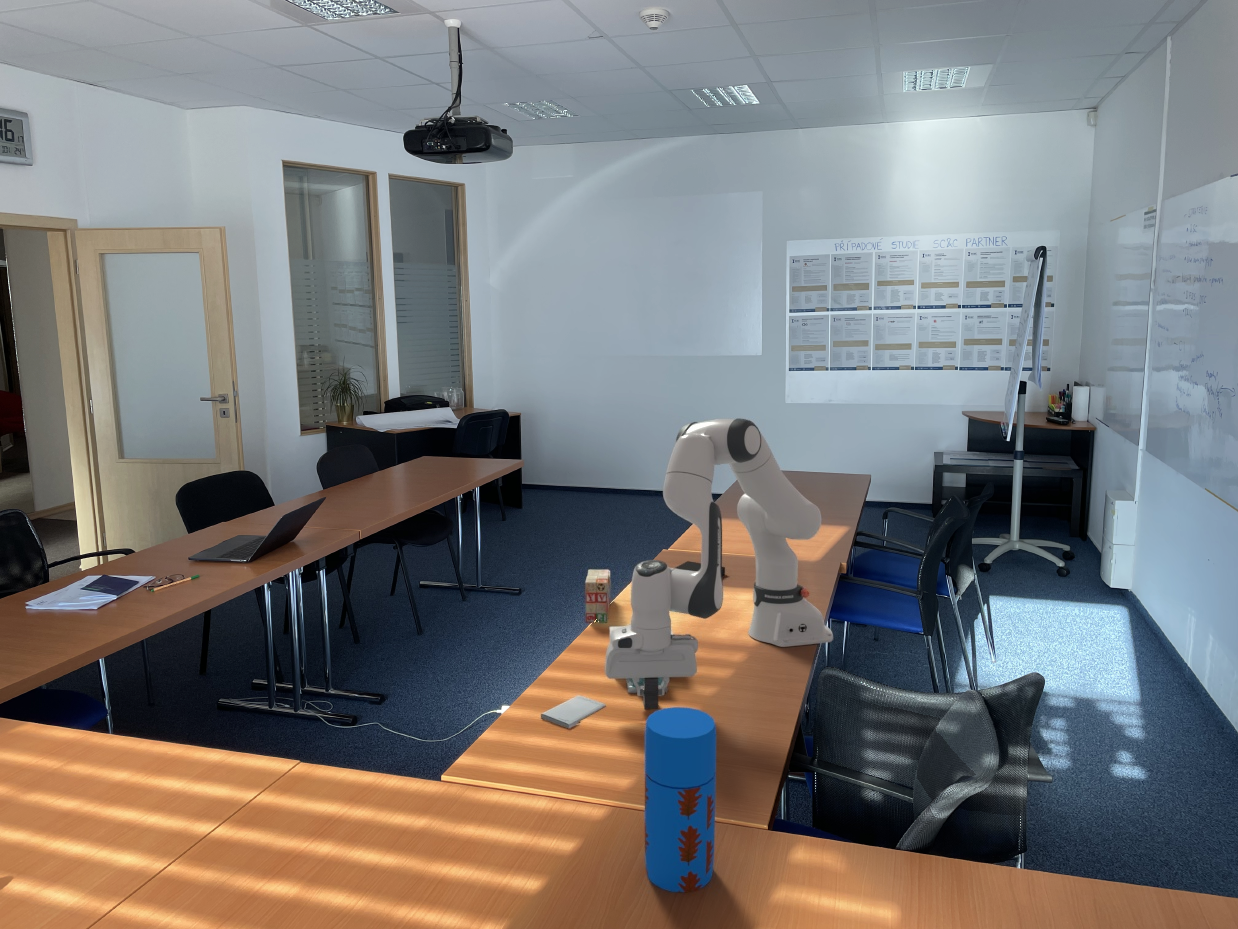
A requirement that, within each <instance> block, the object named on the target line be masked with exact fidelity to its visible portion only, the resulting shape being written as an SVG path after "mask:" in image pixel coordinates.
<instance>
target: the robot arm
mask: <svg viewBox="0 0 1238 929" xmlns="http://www.w3.org/2000/svg"><path fill="white" fill-rule="evenodd" d="M727 464H729V466H730V468H731V470H732V473H733V474H734V476H735V479H736V480H737V481H738V484H739V486H740V488H741V490H742V491H743V494H742V496H740V498H739V499H738V500H739V501H738V503H737V505H736V512H737V513H736V514H737V518H738V520H739V521H740V523H742V525H743V526H744V528H745V529H746V531H747V533H748V535H749V537H750V540H751V543H752V546H753V552H754V557H755V581H754V583H753V590H752V592H753V593H752V594H753V595H752V602H753V610H752V612H753V613H752V618H751V622H750V626H749V628H748V632H747V633H748V635H749V636H750V637H751V638H752V639H755V640H757V641H759V642H764V643H768V644H772V645H775V646H778V647H779V648H780V647H782V648H786V647H787V648H788V647H795V646H805V645H813V644H814V645H816V644H823V643H825V644H826V643H831V642H832V641H834V634H833V632H832V630H831V629H830V628H829V627H828V626H827V625H825V620H824V617H823V616H824V615H823V614H822V612H821V611H820V609H818V608H817V607H816V606H815V605H813V604H812V603H811V602H809V601H808V600H807V599H808V597H809V596H810V591H809V590H808V589H807V588H804V587H803V586H802V585H801V584H799V583H798V570H799V566H798V564H799V560H798V556H797V554H796V553H795V551H794V550H793V549H792V548H791V546H790V545H789V543H788V541H787V539H789V540H794V541H795V540H797V541H798V540H799V541H800V540H801V541H802V540H804V541H807V540H811V539H813V538H814V537H815V536H816V535H817V534H818V533H819V531H820V529H821V526H822V521H823V520H822V514H821V513H822V512H821V510H820V508H819V507H818V506H817V505H816V504H814V503H813V502H811V501H810V500H809V499H807V497H805V496H804V495H803V494H802V493H800V492H799V490H798V489H797V488H796V487H795V486H794V485H793V483H792V482H791V481H790V480H789V479H788V478H787V477H786V475H785V474H784V472H783V471H782V470H781V468H780V466H779V464H778V462H777V460H776V458H775V456H774V454H773V452H772V450H771V448H770V446H769V444H768V442H767V440H766V438H765V437H764V435H763V434H762V433H761V431H760V430H759V427H758V426H757V425H756V424H755V423H754V422H753V421H751V420H750V419H745V418H741V417H740V418H736V419H735V418H715V419H711V420H705V421H699V422H698V421H693V422H690V423H687V424H685V425H683V426H682V427H681V428H680V430H679V431H678V433H677V436H676V438H675V444H674V447H673V449H672V452H671V455H670V458H669V460H668V464H667V468H666V471H665V477H664V482H663V487H662V496H663V500H664V502H665V504H666V506H667V507H668V508H669V509H670V510H671V511H672V512H673V513H674V514H676V515H677V516H678V517H680V518H682V519H683V520H685V521H687V522H689V523H691V524H692V525H694V526H696V527H697V529H698V530H699V532H700V535H701V551H700V552H701V554H700V556H701V558H700V560H701V561H700V563H701V569H700V570H699V571H689V570H681V569H677V568H675V567H669V566H668V564H667V563H666V562H665V561H662V560H658V559H647V560H644V561H641V562H639V563H637V564H636V566H634V569H633V573H632V578H631V587H630V588H631V589H630V606H631V609H632V610H631V611H632V615H631V619H630V624H628V625H625V626H624V625H623V626H624V627H621V628H618V629H615V630H613V631H612V632H611V643H610V642H609V644H608V646H607V647H606V653H605V658H604V659H605V660H604V661H605V662H604V674H605V676H606V677H607V678H608V679H610V680H611V679H612V680H613V679H614V680H615V679H626V678H632V679H633V683H634V685H635V686H636V688H637V693H636V694H637V697H643V696H644V686H640V685H639V683H638V682H639V678H656V677H662V678H663V682H662V684H661V685H658V697H660V696H665V692H664V689H665V688H666V686H667V687H668V684H669V683H670V678H685V677H686V678H690V677H691V678H692V677H694V676H695V675H696V674H697V672H698V666H697V665H698V664H697V658H696V657H697V656H696V653H697V652H698V650H699V641H698V639H697V638H696V637H695V636H693V635H692V634H689V633H688V634H687V633H685V634H673V635H671V629H672V619H671V616H670V612H673V613H679V614H685V615H690V616H693V617H695V618H696V617H697V618H700V619H705V620H706V619H708V618H711V617H712V616H713V615H715V614H717V613H718V612H719V611H720V610H721V608H722V606H723V602H724V587H723V586H724V582H723V576H722V567H723V520H722V519H723V518H722V512H721V509H720V506H719V504H717V503H716V502H714V500H713V495H712V485H713V480H714V474H715V466H720V465H727ZM806 598H807V599H806Z"/></svg>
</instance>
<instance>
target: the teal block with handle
mask: <svg viewBox="0 0 1238 929" xmlns="http://www.w3.org/2000/svg"><path fill="white" fill-rule="evenodd" d="M625 681H626V688H627V693H628V694H637V688H636V686H635V685H634V683H633V679H632V678H625ZM662 682H663V678H662V677H656V678H639V682H638V683H639V685H640V686H644V696H642V698H643V699H642V700H643V708H644V710H659V696H658V685H661V684H662ZM664 693H668V685H667V686H666V688H665V689H664Z"/></svg>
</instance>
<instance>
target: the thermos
mask: <svg viewBox="0 0 1238 929" xmlns="http://www.w3.org/2000/svg"><path fill="white" fill-rule="evenodd" d="M716 771H717V727H716V723H715V721H714V717H712V716H711V715H710V714H708V713H707V712H705V711H702V710H700V709H696V708H691V707H687V706H686V707H679V706H674V707H665V708H662V709H657V710H655V711H654V712H653V713H651V714H649V716H648V717H647V719H646V721H645V728H644V856H645V857H644V858H645V859H644V860H645V862H644V863H645V871H646V876H647V878H648V880H649V881H650V882H651V883H652V884H653V885H655V886H657V887H658V888H660V889H662V890H665V891H669V892H672V893H688V892H695V891H697V890H700V889H702V888H704V887H706V885H707V884H708V883H709V882H711V879H712V876H713V873H714V872H713V871H714V858H715V838H716V836H715V832H716V831H715V830H716V826H715V824H716V823H715V822H716V778H717V776H716V774H717V773H716Z"/></svg>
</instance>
